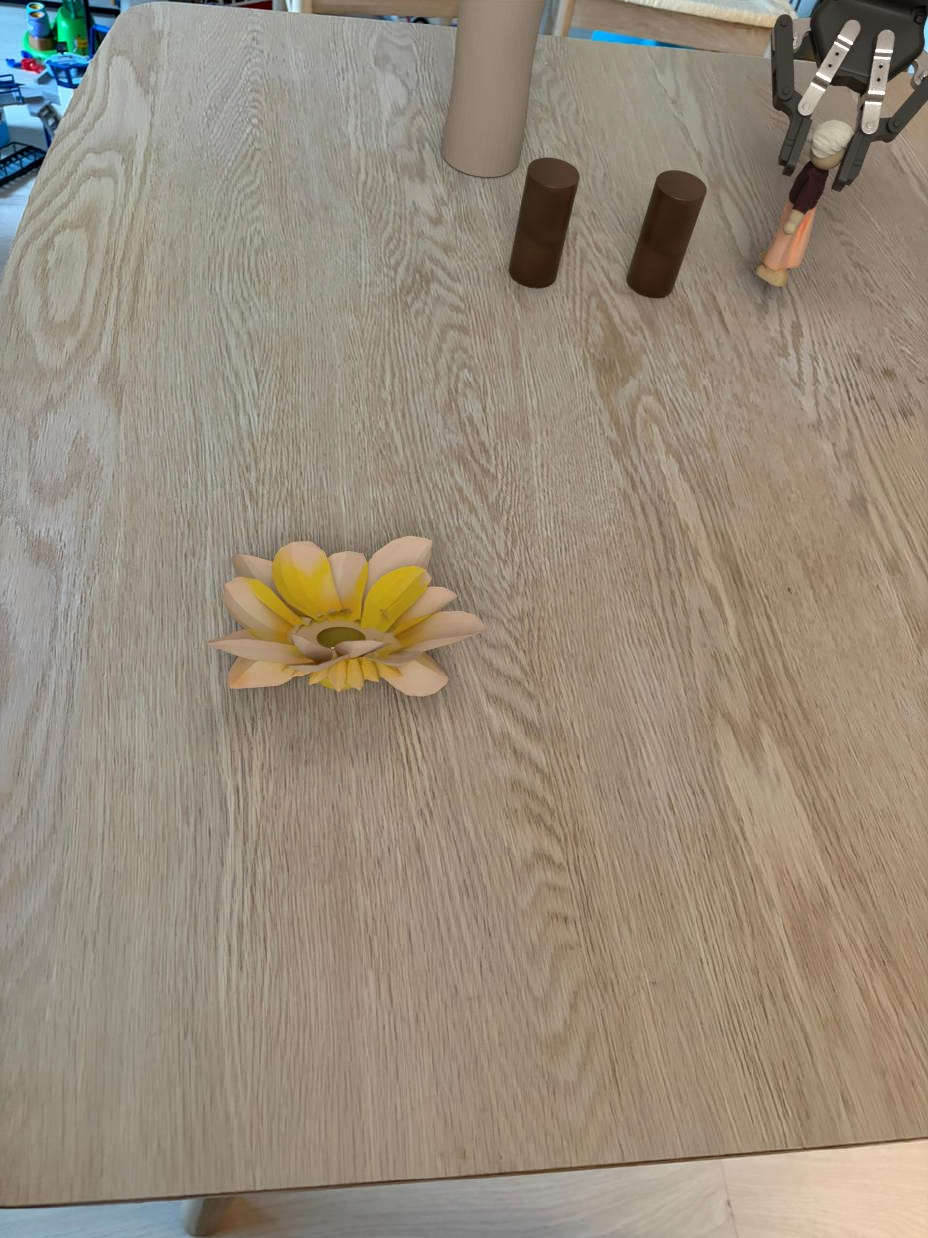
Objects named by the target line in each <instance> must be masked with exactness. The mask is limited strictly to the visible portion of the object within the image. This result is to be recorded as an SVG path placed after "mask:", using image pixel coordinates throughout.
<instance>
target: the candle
mask: <svg viewBox="0 0 928 1238" xmlns="http://www.w3.org/2000/svg"><path fill="white" fill-rule="evenodd" d="M546 2H547V0H459V5H458V11H457V21H456V35H455V46H454V57H453V58H454V59H453V72H452V73H453V74H452V81H451V82H452V83H451V89H450V96H449V103H448V107H447V113H446V118H445V123H444V129H443V135H442V141H441V149H440V150H441V155H442V158H443V159H444V161H445V162H446V163H447V164H448V165H450V166H451V167H452V168H454V169H455V170H457V171H459V172H462V173H464V174H466V175H470V176H474V177H480V178H497V177H502V176H505V175H508V174H510V173H512V172H513V171H515V170H516V168H518V166H519V164H520V159H521V154H522V148H523V143H524V140H525V134H526V133H525V131H526V124H527V117H528V109H529V100H530V93H531V92H530V91H531V83H532V75H533V74H532V73H533V66H534V61H535V60H534V59H535V53H536V47H537V42H538V37H539V32H540V28H541V24H542V20H543V14H544V10H545V7H546Z"/></svg>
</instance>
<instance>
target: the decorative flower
mask: <svg viewBox="0 0 928 1238" xmlns="http://www.w3.org/2000/svg"><path fill="white" fill-rule="evenodd" d="M432 549H433V540H431V539H429V538H427V537H420V536H415V535H406V536H402V537H399V538H396V539H392V540H391V541H389V542H388V543H387V544H385V545H383V547H381V548H379V549H378V550H377V551H376V552H374V553H373V555H372V556H371V557H370V559H369V561H367V558H366V557H365V554H364V553H363V552H358V551H351V550H346V551H339V552H334V553H332V554H331V555H329V556H328V557H327V554H326V552H325V551H324V550H323V549H322V548H320V547H319V546H318V545H316V544H315V543H314V542H312V541H311V540H305V541H292V542H289V543H287V544H285V545H283V546H281V547H279V549H278V551H277V553H276V554H275V555H274V558H273V560H269V559H265V558H262V557H259V556H256V555H255V556H254V555H249V554H244V553H238V554H234V555H233V556H231V558H230V560H231V565H232V568H233V569H234V571H235V573H236V575H237V576H235V578H233V579H232V580H230V581H227V582H226V583H225V584H224V586H223V590H222V594H221V595H222V600H223V605H224V607H225V608H226V610H227V612H228V613H229V616H230V617H231V618H232V619H233V620H234V621H235V622H236V623H237V624H238V625H240V627H241V628H242V629H240V630H237V631H233V632H232V633H228V634H226V635H223V636H221V637H217V638H214V639H211V640H208V641H207V642H205V643H202V644H203V645H206V646H209V647H211V648H214V649H217V650H221V651H222V652H223V651H224V652H225V653H228V654H231V655H234V656H236V657H237V658H236V659H235V660H234V662H233V663H232V666H231V667H230V669H229V671H228V673H227V685H228V687H229V689H237V690H238V689H239V690H240V689H254V688H255V689H256V688H266V687H267V688H268V687H276V686H277V687H278V686H279V687H280V686H281V685H283V684H286V683H288V682H289V681H290V680H292V679H293V678H294V677H303V676H307V675H308V682H307V685H308V686H311V685H314V684H317V683H318V684H320V685H321V686H322V687H325V688H327V689H330V690H332V689H333V691H337V692H338V693H340V692H342V691H343V692H344V691H348V690H351V689H355V690H357V691H362V688H363V686H364V684H365V681H367V680H368V681H371V682H376V683H380V678H381V679H384V680H386V682H387V683H388V684H390V685H391V686H392V687H393V688H394V689H396V690H398V691H399V692H401V693H403V694H404V695H406V696H409V697H412V696H413V697H422V698H423V697H427V696H431V695H435V694H436V693H438V691H440V690H441V689H443V688H444V686H445V685H447V683H448V681H449V677H448V675H447V674H446V673H445V671H444V670H443V669H442V667H440V665H439V664H438V663H437V662H436V660H434V659H433V657H432V656H430V654H429V653H428V652H427V651H431V650H434V649H437V648H441V647H445V646H449V645H452V644H455V643H458V642H460V641H463V640H465V639H468V638H470V637H473V636H475V635H478V634H480V633H483V632H486V631H487V627H486V625H485V624H484V623H483V622H482V621H481V620H480V618H479V617H478V616H477V615H476V614H474V613H471V612H467V611H462V610H448V611H441V610H442V609H444V608H445V607H446V606H448V605H449V604H450V603H452V602H453V601H454V600H456V599H457V597H458V595H457V594H456V593H455V592H453V591H451V590H449V589H448V588H446V587H444V586H429V585H430V584H431V581H432V579H433V578H432V576H431V574H430V573H429V572H428V568H429V564H430V560H431V555H432ZM331 647H335V648H334V649H331Z"/></svg>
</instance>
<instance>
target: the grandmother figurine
mask: <svg viewBox="0 0 928 1238" xmlns="http://www.w3.org/2000/svg"><path fill="white" fill-rule="evenodd" d="M854 131H855V130H853V128H852V127H851V126H850V124H848V123H846V122H844V121H842V120H838V119H828V120H825V121H823V122H820V123H819V124H817V125H816V126H815V127H814V128H810V130H809V132H808V135H807V137H806V140H805V143H809V160H808V161H807V162H806V163H805V164H804V166H803V167H802V168H801V170H800V172H798V174H797V176H796V177H795V179H794V181H793V184H792V186H791V188H790V189H789V192H788V197H787V200H786V202H785V204H784V207H783V210H782V213H781V217H780V221H779V227H778V230H777V232H776V233H775V234H774V236H773V237H772V238H771V241H770V242H769V245H768V247H767V249H765V250H762V251H761V252H760V254H759V260H760V261H761V262H762V263H763V264H760V265H758V267H757V268H756V270H755V274H756V276H757V277H759V278H761V279H762V280H764V281H765V282H767V283H768V284H770V285H772V286H774V287H778V288H780V287H781V288H782V287H785V286H786V285H787V283H788V282H789V275H788V272H787V270H789V269H796V268H799V266H801V265H802V262H803V259H804V256H805V254H806V252H807V248H808V245H809V241H810V237H811V234H812V229H813V225H814V221H815V216H816V209H817V204H818V202H819V200H820V199H821V196H822V195H823V193H824V191H825V187H826V183H827V180H828V177H829V174H830V170H832V169H835V168H836V167H837V166H839V165H840V163H841V161H842V159H843V157H844V155H845V149H846V146H847V144H848V143H849V141H850V140H851V139H852V136H853V135H854Z"/></svg>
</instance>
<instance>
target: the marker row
mask: <svg viewBox="0 0 928 1238" xmlns="http://www.w3.org/2000/svg"><path fill="white" fill-rule="evenodd" d="M580 178H581V176H580V173H579V170H578V169H577V168H576V166H574V165H573V164H571V162H568V161H566V160H564V159H560V158H556V157H539V158H536V159H533V160H532V161H531V162H530V163H528V166H527V170H526V175H525V180H524V181H525V182H524V186H523V191H522V197H521V202H520V207H519V211H518V217H517V218H518V219H517V223H516V228H515V234H514V239H513V243H512V250H511V254H510V260H509V265H508V273H509V275H510V277H511V279H513V281H514V282H516V283H518V284H519V285H520V286H521V285H522V286H524V287H527V288H531V289H543V288H548V287H550V286H551V285H553V284H554V283H555V281H556V280H557V277H558V272H559V267H560V263H561V258H562V254H563V251H564V246H565V242H566V238H567V233H568V229H569V225H570V221H571V218H572V212H573V208H574V204H575V201H576V200H575V199H576V195H577V191H578V187H579V182H580ZM707 192H708V189H707V186H706V184H705V182H704V181H703V180H702V179H700V178H699V177H698V176H697V175H695V174H692V173H690V172H687V171H683V170H679V169H678V170H677V169H669V170H664V171H661V172H660V173H659V174H658V175H657V176H656V178H655V181H654V184H653V188H652V192H651V195H650V198H649V201H648V204H647V208H646V211H645V215H644V217H643V222H642V224H641V228H640V231H639V235H638V238H637V241H636V244H635V247H634V250H633V254H632V257H631V261H630V264H629V268H628V272H627V275H626V283H627V285H628V286H629V288H630V289H631V290H633V291H634V292H635V293H637V294H639V295H640V296H643V297H645V298H651V299H659V298H660V299H661V298H664V297H667V296H669V295H670V294H671V293H672V292H673V291H674V288H675V285H676V281H677V279H678V275H679V274H680V270H681V267H682V265H683V262H684V259H685V256H686V253H687V251H688V247H689V244H690V241H691V238H692V236H693V233H694V229H695V227H696V224H697V223H698V222H697V221H698V218H699V215H700V212H701V210H702V207H703V204H704V202H705V198H706V196H707Z"/></svg>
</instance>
